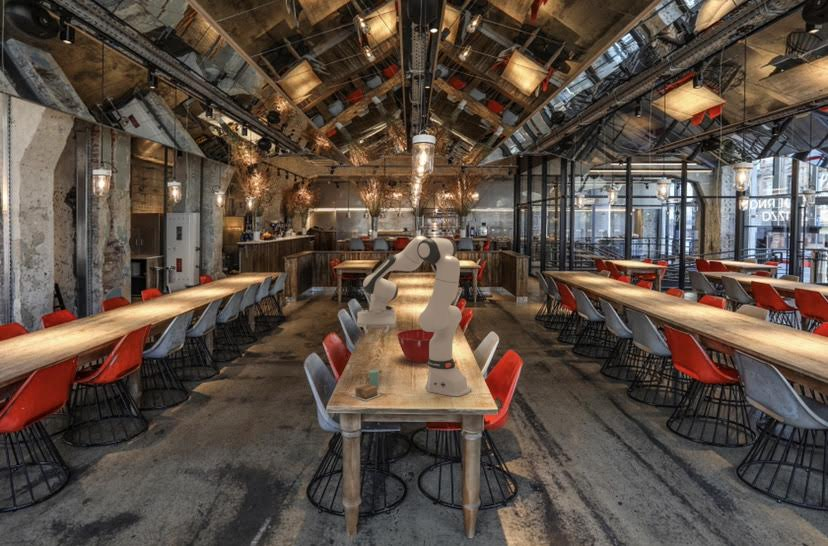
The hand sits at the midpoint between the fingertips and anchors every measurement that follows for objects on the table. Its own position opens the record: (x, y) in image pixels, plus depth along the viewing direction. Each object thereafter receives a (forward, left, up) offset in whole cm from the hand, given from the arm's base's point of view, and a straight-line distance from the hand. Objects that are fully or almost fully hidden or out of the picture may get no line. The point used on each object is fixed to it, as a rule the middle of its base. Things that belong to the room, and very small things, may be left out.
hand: (376, 333), depth 250 cm
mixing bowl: (+6, -42, -24) cm, 49 cm away
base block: (-14, +21, -23) cm, 34 cm away
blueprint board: (-14, +21, -24) cm, 34 cm away
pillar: (-8, +10, -24) cm, 27 cm away
